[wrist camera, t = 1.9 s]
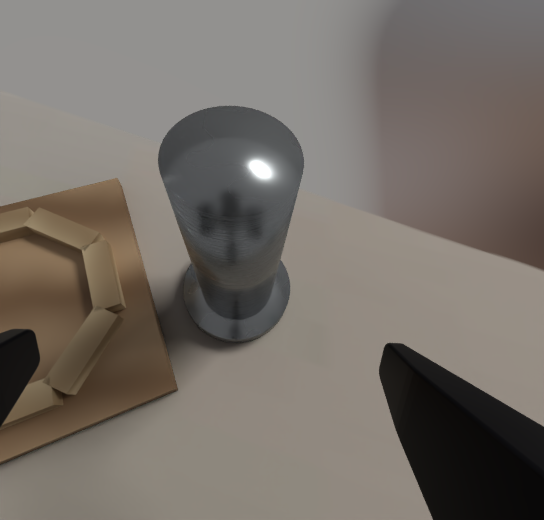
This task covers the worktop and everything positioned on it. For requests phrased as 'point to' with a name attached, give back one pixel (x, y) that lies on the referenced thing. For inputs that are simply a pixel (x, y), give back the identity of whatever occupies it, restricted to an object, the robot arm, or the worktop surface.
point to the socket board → (78, 314)
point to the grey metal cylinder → (233, 215)
